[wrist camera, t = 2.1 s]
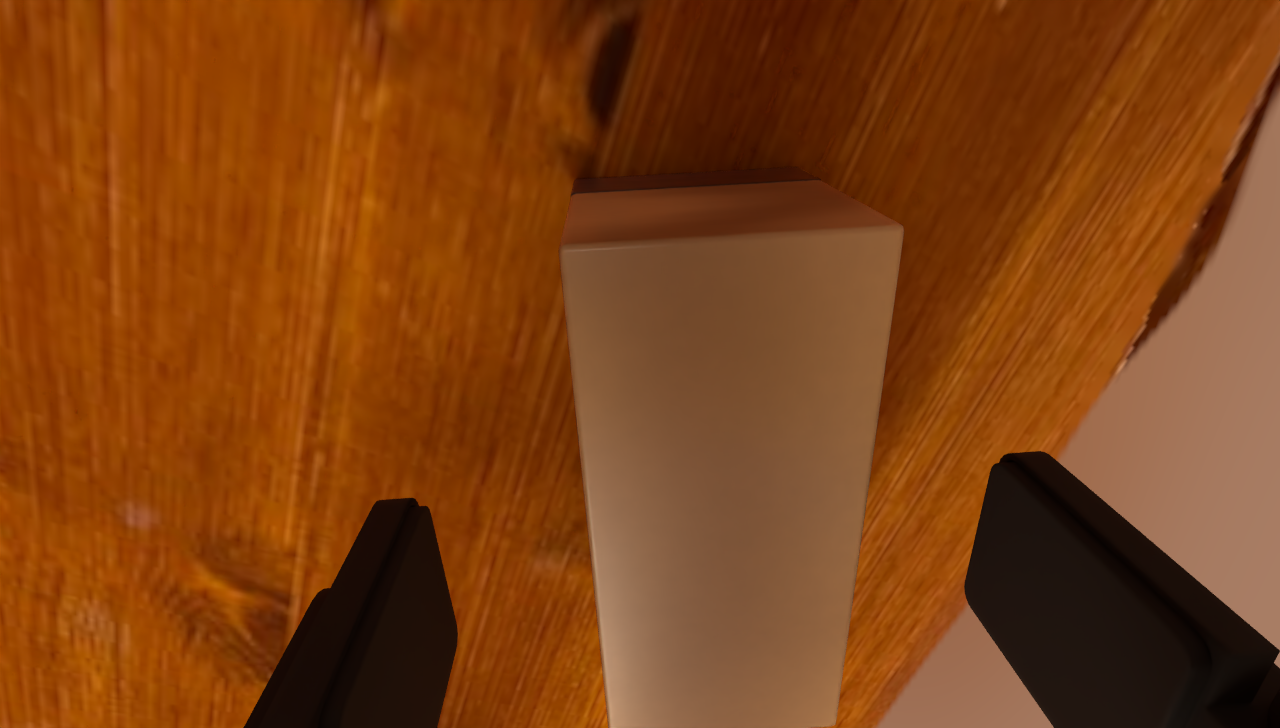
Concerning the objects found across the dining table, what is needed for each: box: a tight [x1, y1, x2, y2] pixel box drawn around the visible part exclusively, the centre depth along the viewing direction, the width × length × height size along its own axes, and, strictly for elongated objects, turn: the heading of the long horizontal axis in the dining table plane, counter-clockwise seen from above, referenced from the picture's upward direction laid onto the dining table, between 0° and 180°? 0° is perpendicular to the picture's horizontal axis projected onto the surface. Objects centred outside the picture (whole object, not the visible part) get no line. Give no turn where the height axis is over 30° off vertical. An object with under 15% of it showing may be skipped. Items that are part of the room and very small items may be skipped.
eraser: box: [559, 167, 904, 728], centre depth 12 cm, size 4×10×5 cm, turn 3°
